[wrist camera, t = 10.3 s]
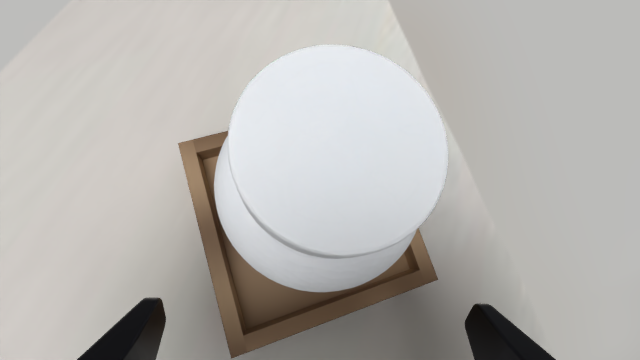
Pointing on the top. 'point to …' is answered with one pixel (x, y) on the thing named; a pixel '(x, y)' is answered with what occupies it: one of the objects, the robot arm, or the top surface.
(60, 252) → the top surface
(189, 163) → the walnut tray
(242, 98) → the supplement bottle
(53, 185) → the top surface
